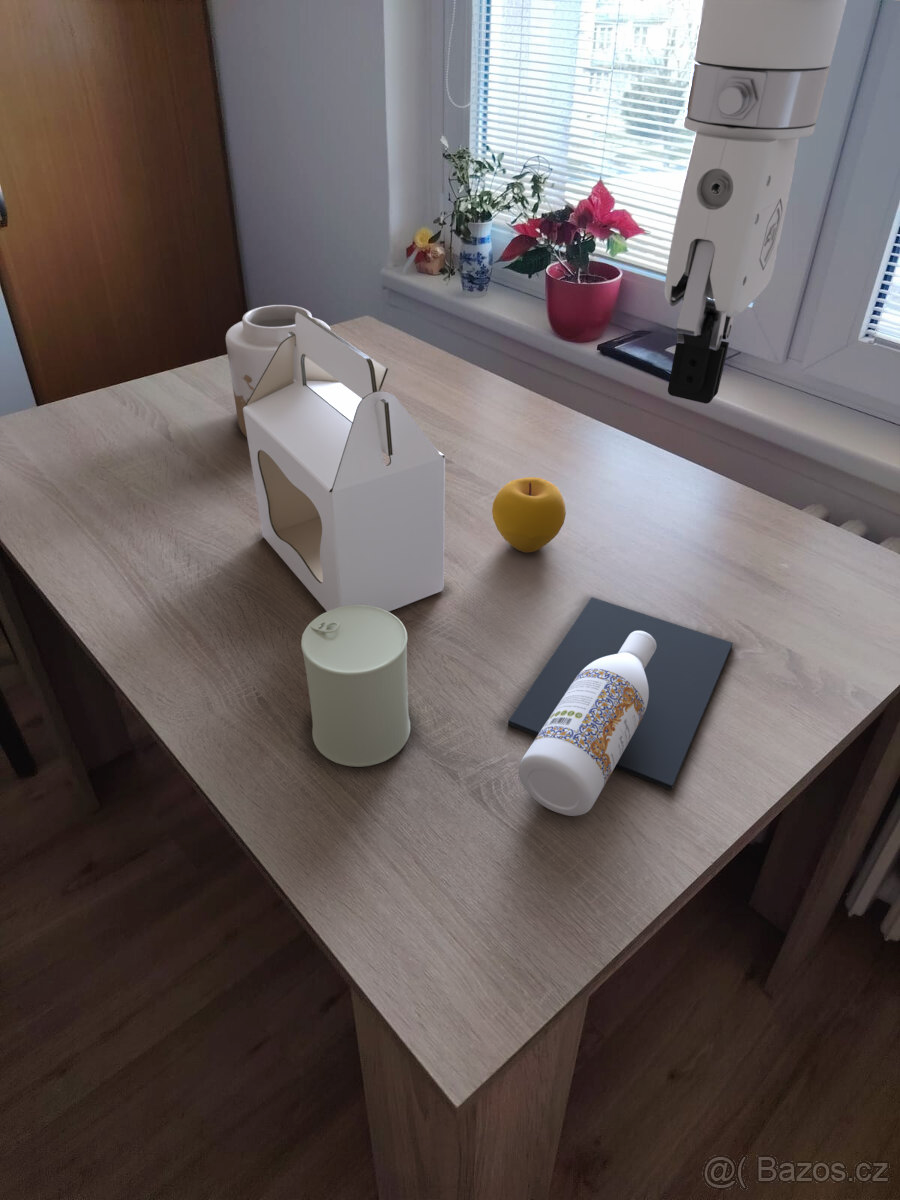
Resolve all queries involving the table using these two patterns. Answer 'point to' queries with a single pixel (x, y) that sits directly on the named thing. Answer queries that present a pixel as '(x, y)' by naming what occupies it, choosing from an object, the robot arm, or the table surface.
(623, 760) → the mat
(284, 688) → the table surface
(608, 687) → the bath foam
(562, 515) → the apple
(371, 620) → the can
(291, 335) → the gable box
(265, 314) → the vase
